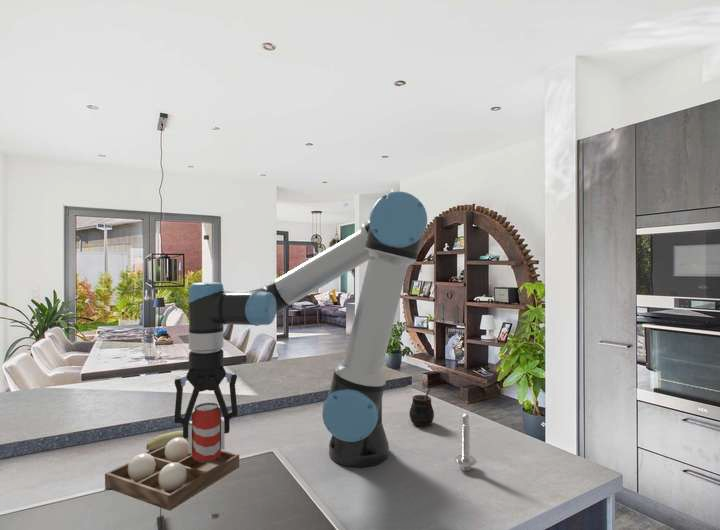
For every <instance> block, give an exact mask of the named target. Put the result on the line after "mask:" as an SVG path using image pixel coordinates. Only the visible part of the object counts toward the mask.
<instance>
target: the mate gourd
mask: <svg viewBox="0 0 720 530" xmlns="http://www.w3.org/2000/svg"><path fill="white" fill-rule="evenodd" d="M430 391H431V388H430V387H428V389H427V391H426V393H425V394H416V395H413V396H412V403H411V406H410V408H409V418H410V421H411V423H412V424H413V425H415V426H417V427H424V428H425V427H427V426H429V425H432V423H433V421H434V418H435V412H434V408H433V406H432V405H433V404H432V397H430V396H428V395H429V393H430Z"/></svg>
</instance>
